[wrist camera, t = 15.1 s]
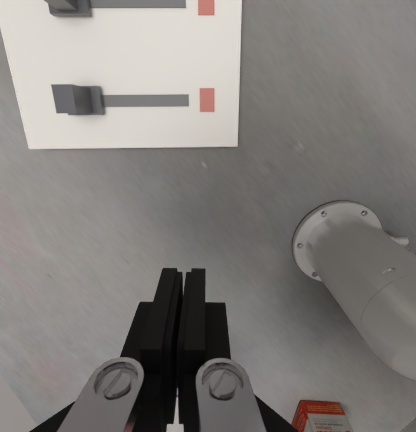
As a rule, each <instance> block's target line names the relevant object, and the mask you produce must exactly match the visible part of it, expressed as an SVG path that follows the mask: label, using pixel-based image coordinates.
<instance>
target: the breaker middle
mask: <svg viewBox="0 0 416 432" xmlns="http://www.w3.org/2000/svg"><path fill="white" fill-rule="evenodd" d="M44 1H45V2H47V3H48V6H49V12H50V14H51V15H53V16H91V9H90V2H89V0H44Z"/></svg>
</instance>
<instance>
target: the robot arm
mask: <svg viewBox="0 0 416 432" xmlns="http://www.w3.org/2000/svg"><path fill="white" fill-rule="evenodd" d="M321 212H323V213H321ZM408 244H409V240H408V238H407V237H405V236H403V237H392V236H390V235H389V234H387V233H386V232H384V231H383V230H382V226H381V223H380V220H379V219H378V218H377V216H376V215H375V214H374V213H373V212H372V211H371V210H370V209H368V208H366V207H365V206H363V205H361V204H358V203H356V202H350V201H336V202H331V203H328V204H325V205H323V206H320V207H319V208H317V209H315V210H313V211H312V212H311V213H310V214H309V215H307V216H306V217H305V218H304V220H303V221H302V222H301V223H300V225H299V226H298V228H297V230H296V232H295V235H294V237H293V244H292V250H293V255H294V259H295V261H296V263H297V265H298V266H299V268H300V269H301V270H302V271H303V272H304V273H305V274H306V275H307V276H309V277H310V278H312V279H315V280H318V281H322V282H323V283H324V284H325V286H326V287H327V288H328V290H329V291H330V293H331V294H332V295H333V297H334V298H335V300H336V301H337V302H338V304H339V305H340V307H341V308H342V309H343V311H344V312H345V314H346V315H347V317H348V318H349V319H350V321H351V322H352V324H353V325H354V326H355V328H356V329H357V331H358V332H359V333H360V335H361V336H362V338H363V339H364V340H365V342H366V343H367V344H368V346H369V347H370V348H371V350H372V351H373V352H374V354H375V355H376V356H377V357H378V358H379V359H380V360H381V361H382V362H383V363H384V364H385V365H386V366H388V367H389V368H391V369H392V370H393V371H395V372H397V373H399V374H401V375H403V376H405V377H407V378H409V379H412V380H415V381H416V255H415V254H414V253H412V252H411V251H409V250H408V249H406V248H405V247H406V246H408ZM177 388H178V415H179V424H183V427H184V432H299V431H298V430H297V429H295V428H294V427H293V426H292V425H291V424H289V423H288V422H287V421H286V420H285V419H283V418H282V417H281V416H280V415H279V414H277V413H276V412H275V411H274V410H273V409H271V408H270V407H269V406H268V405H267V404H265V403H264V402H263V401H262V400H260V399H259V398H258V397H257V396H256V395H254V392H253V389H252V386H251V383H250V380H249V377H248V375H247V373H246V371H245V369H244V368H243V367H242V366H241V365H240V364H238V363H237V362H235V361H233V360H231V356H230V346H229V336H228V326H227V315H226V306H225V303H214V302H205V269H197V268H192V272H186V279H185V286H184V294H183V276H182V272H177V268H163V269H162V273H161V276H160V280H159V283H158V287H157V290H156V294H155V297H154V301H153V302H140V303H139V305H138V308H137V311H136V313H135V316H134V319H133V322H132V325H131V327H130V330H129V333H128V336H127V339H126V341H125V344H124V347H123V350H122V353H121V355H120V357H119V358H115V359H111V360H109V361H107V362H105V363H103V364H102V365H101V366H100V367H98V368H97V369H96V370H95V371H94V373H93V374H92V375H91V377H90V378H89V380H88V382H87V383H86V385H85V387H84V388H83V390H82V391H81V393H80V395H79V396H78V398H77V400H76V401H74V402H73V403H71V404H70V405H68V406H67V407H65V408H64V409H62V410H61V411H60V412H58V413H57V414H55V415H54V416H52V417H51V418H49V419H48V420H46V421H45V422H43V423H42V424H40V425H39V426H37V427H36V428H34V429H33V430H31V431H30V432H166V430H167V424H174V417H175V407H176V398H177ZM400 432H416V418H415V419H414V420H413V421H412V422H411V423H409V424H408V425H407V426H406V427H405V428H404V429H402V430H401V431H400Z"/></svg>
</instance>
